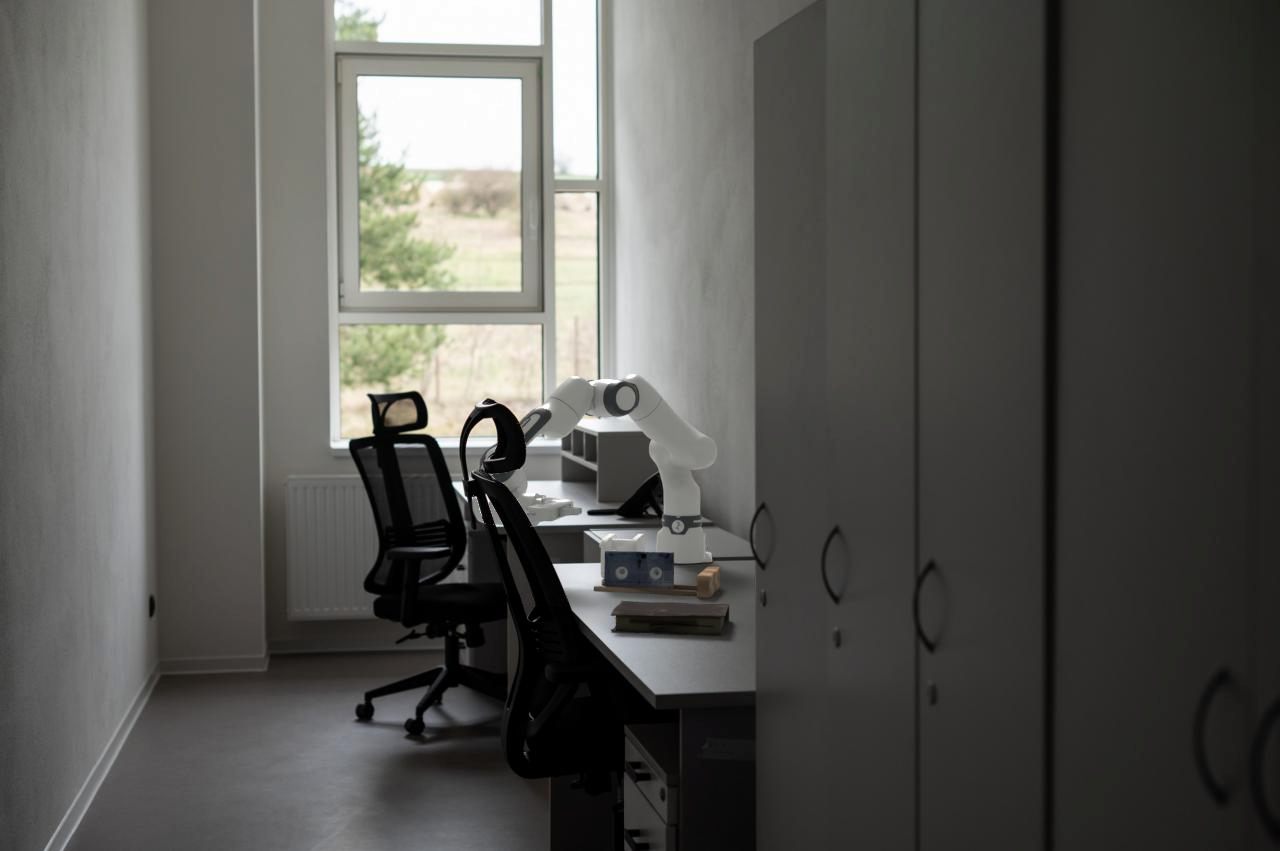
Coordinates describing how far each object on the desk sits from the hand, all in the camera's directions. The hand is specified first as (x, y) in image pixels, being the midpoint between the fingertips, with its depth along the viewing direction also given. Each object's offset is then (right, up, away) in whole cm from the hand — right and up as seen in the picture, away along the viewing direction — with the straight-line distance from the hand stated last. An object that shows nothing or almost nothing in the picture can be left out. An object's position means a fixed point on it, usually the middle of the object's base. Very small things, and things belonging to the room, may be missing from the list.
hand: (580, 511), depth 335 cm
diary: (+23, -23, -51) cm, 60 cm away
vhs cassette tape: (+16, -21, -3) cm, 26 cm away
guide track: (+20, -20, -4) cm, 29 cm away
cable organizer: (+11, -20, +17) cm, 28 cm away
